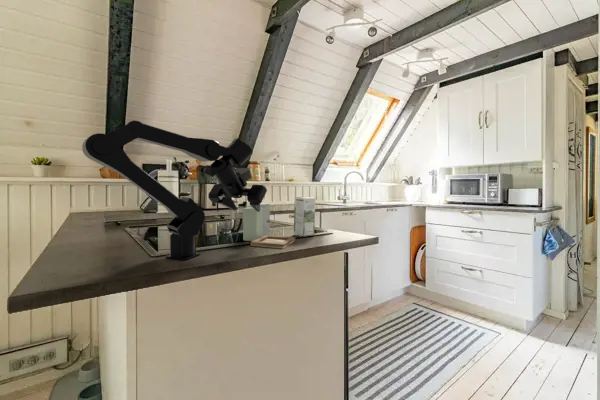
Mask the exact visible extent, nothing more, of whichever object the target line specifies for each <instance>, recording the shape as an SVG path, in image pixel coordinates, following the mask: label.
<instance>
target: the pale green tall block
mask: <svg viewBox="0 0 600 400" xmlns="http://www.w3.org/2000/svg"><path fill="white" fill-rule="evenodd" d="M242 220H243V221H242V225H243V226H242V229H243V232H242V235H243V236H242V238H243V239H242V240H243V241H247V242H248V241H249V242H252V241H254V240H256V239H258V238H261V237H263V208H260V212H258V211H256V210H255V209H254V208H253V207H251V206H250V207H249V206H248V207H243V208H242Z"/></svg>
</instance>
